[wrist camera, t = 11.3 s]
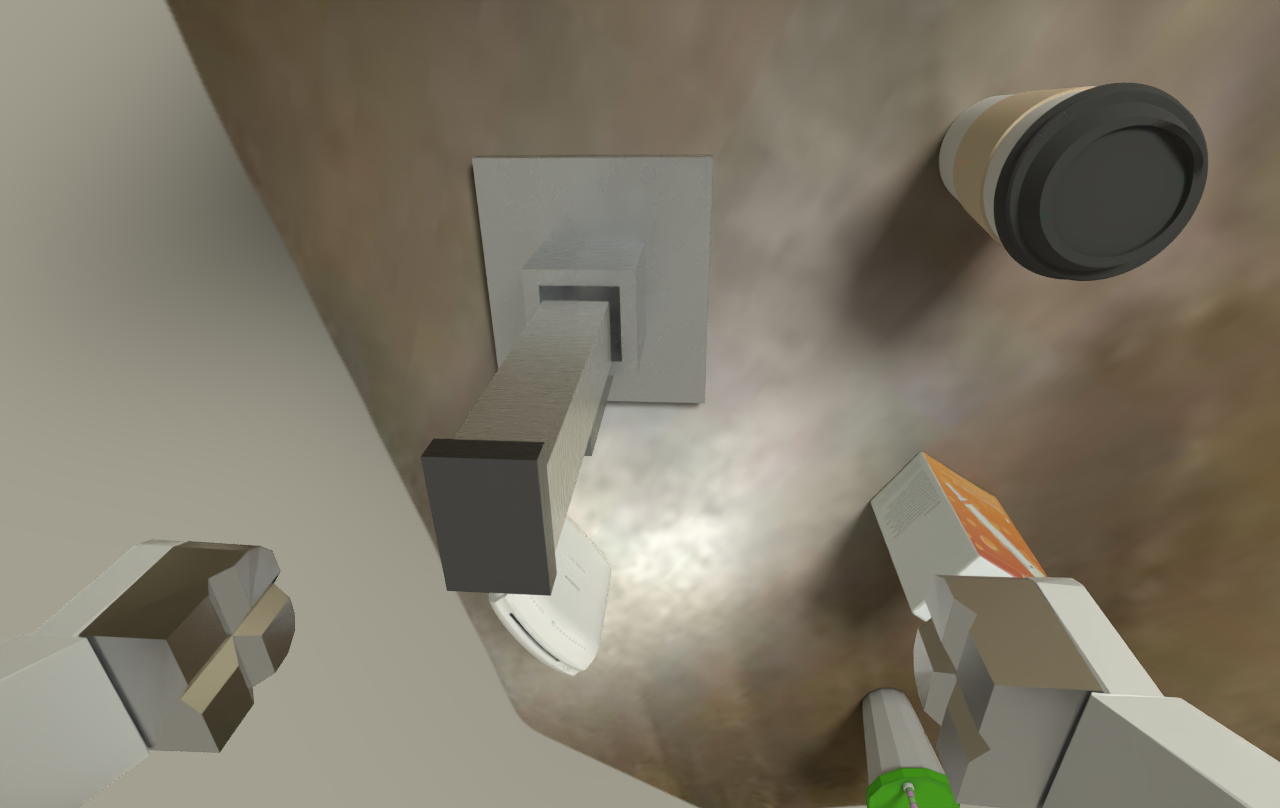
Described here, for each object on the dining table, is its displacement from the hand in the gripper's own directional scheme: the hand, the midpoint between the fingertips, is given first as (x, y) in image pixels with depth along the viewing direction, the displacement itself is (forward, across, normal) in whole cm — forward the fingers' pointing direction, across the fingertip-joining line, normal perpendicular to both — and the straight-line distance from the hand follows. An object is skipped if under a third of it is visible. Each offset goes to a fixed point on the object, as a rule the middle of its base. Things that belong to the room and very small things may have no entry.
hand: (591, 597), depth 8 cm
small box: (+41, -21, +27) cm, 54 cm away
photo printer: (+41, +10, +33) cm, 54 cm away
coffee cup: (+41, -20, 0) cm, 46 cm away
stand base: (+41, +6, +9) cm, 42 cm away
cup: (+41, -21, +52) cm, 70 cm away
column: (+32, +6, +9) cm, 33 cm away
